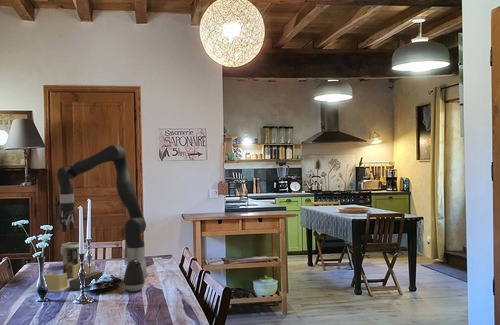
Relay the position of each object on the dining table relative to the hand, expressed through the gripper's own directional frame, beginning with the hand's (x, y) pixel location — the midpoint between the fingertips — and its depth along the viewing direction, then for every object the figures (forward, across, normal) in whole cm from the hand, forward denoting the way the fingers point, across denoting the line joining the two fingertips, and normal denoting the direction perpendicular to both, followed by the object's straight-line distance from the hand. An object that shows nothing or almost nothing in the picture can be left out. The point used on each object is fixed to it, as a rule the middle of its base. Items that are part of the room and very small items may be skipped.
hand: (68, 230), depth 273 cm
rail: (+27, -19, -18) cm, 37 cm away
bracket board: (+26, -17, -8) cm, 32 cm away
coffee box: (+26, +3, -1) cm, 27 cm away
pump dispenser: (+27, -31, -47) cm, 63 cm away
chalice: (+26, +27, +11) cm, 39 cm away
